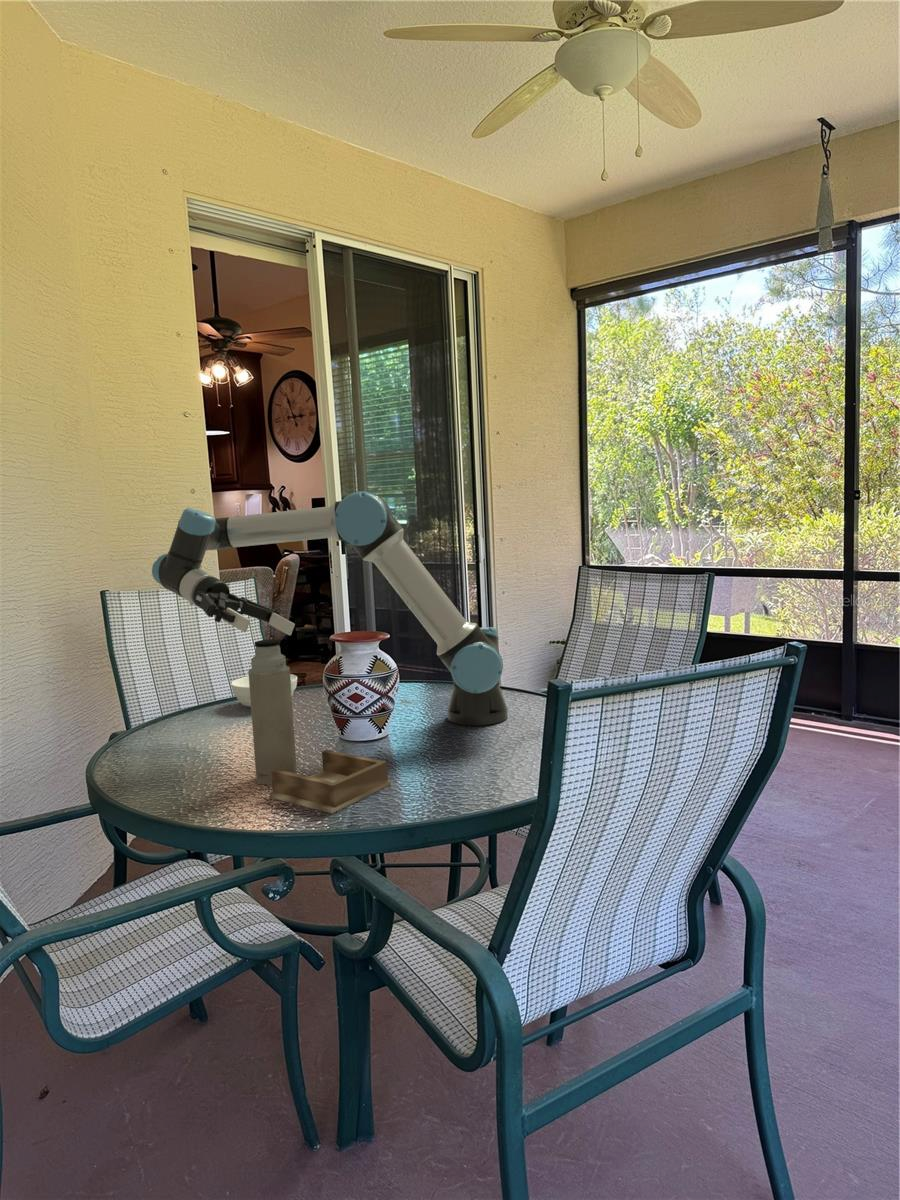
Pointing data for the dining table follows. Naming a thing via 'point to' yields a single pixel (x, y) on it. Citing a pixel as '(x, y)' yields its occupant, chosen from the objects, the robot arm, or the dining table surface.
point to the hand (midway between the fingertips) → (270, 628)
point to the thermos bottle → (271, 711)
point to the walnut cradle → (332, 782)
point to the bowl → (243, 689)
